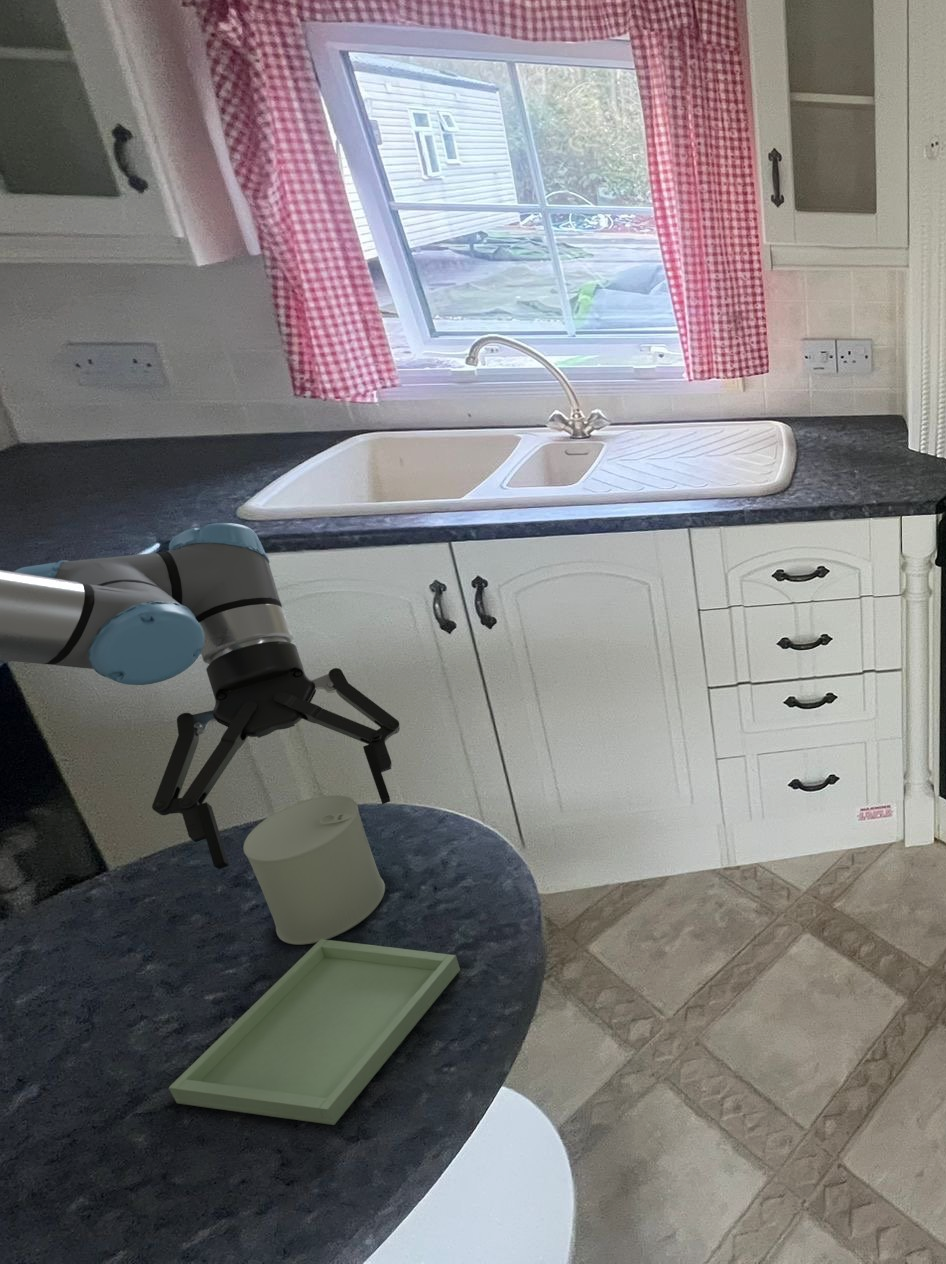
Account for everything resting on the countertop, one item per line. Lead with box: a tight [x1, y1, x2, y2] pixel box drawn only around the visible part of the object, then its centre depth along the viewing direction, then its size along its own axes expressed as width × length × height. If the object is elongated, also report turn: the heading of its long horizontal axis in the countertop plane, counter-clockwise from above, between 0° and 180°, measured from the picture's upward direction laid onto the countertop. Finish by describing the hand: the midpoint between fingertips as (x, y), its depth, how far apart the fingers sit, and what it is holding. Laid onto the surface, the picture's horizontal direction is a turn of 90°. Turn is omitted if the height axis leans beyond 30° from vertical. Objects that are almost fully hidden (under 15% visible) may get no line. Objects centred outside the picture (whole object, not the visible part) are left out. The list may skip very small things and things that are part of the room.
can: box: [242, 794, 386, 946], centre depth 86 cm, size 9×9×12 cm
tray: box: [168, 939, 461, 1126], centre depth 76 cm, size 15×15×2 cm
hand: (308, 832), depth 87 cm, fingers open, 13 cm apart
